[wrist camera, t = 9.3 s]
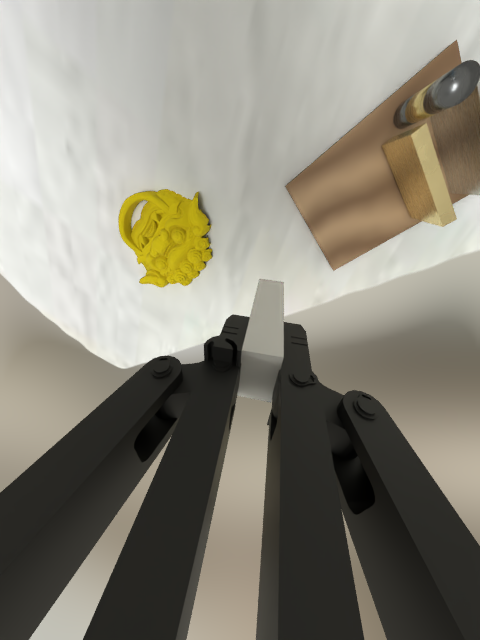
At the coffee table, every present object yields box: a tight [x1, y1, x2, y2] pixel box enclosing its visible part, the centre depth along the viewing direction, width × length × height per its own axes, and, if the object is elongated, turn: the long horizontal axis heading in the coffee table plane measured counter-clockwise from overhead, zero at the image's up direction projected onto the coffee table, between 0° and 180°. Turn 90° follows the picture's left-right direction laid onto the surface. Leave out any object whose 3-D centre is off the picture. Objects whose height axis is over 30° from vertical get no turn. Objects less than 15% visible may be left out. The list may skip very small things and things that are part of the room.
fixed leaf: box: [393, 60, 480, 195], centre depth 20 cm, size 12×4×9 cm, turn 39°
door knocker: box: [119, 189, 212, 287], centre depth 36 cm, size 16×16×4 cm
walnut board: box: [285, 40, 469, 271], centre depth 27 cm, size 15×19×1 cm
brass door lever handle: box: [382, 80, 457, 227], centre depth 22 cm, size 12×4×7 cm, turn 40°
